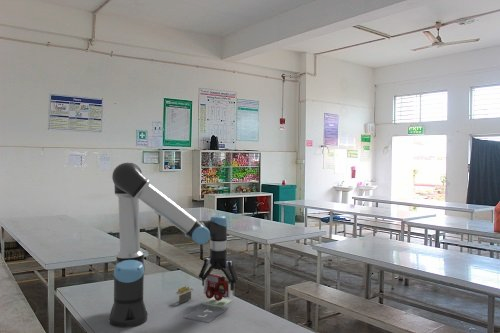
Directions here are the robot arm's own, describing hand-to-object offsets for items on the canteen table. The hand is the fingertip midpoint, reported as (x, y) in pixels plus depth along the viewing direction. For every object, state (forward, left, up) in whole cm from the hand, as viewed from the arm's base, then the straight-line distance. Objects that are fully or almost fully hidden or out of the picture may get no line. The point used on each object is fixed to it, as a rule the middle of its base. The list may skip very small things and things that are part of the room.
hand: (217, 295), depth 190 cm
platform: (-5, +16, -4) cm, 17 cm away
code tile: (-15, -2, -4) cm, 15 cm away
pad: (0, 0, -4) cm, 4 cm away
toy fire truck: (0, 0, -1) cm, 1 cm away
